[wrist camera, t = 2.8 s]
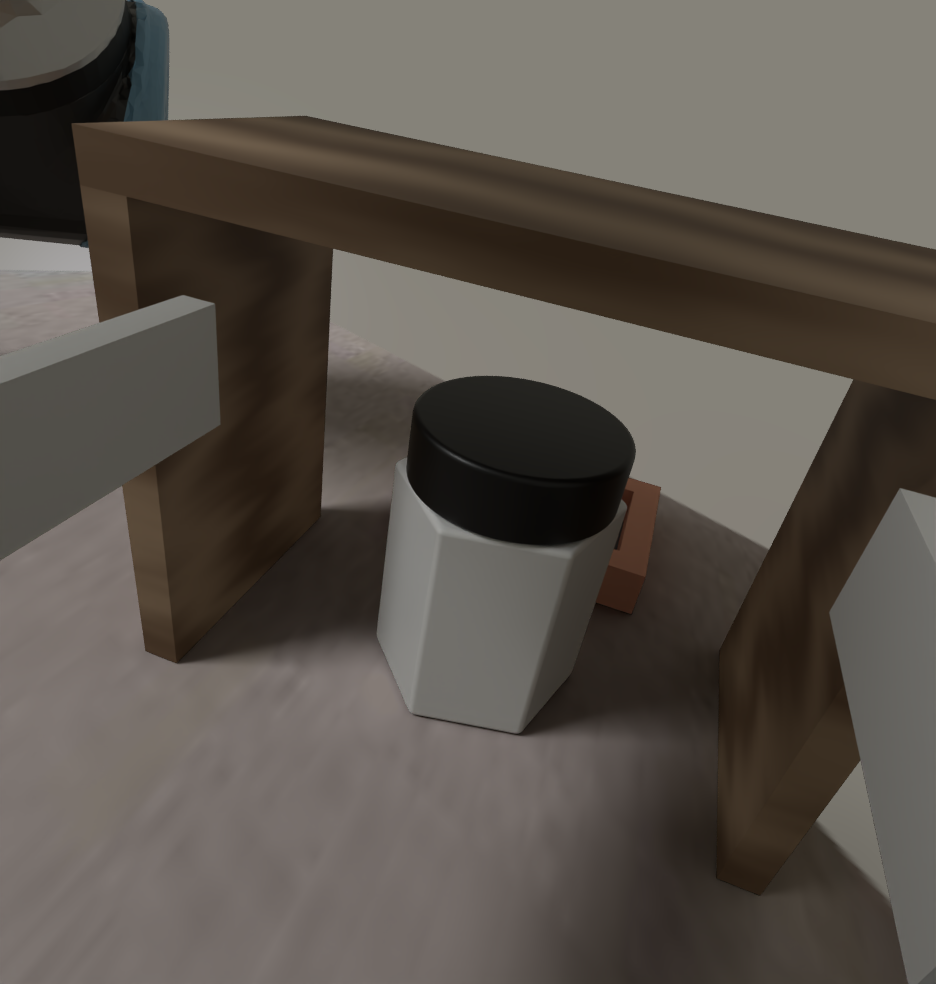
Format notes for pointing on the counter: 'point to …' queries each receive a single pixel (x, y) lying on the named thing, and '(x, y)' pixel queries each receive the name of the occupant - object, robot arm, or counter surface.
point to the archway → (538, 275)
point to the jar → (498, 546)
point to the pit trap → (631, 548)
